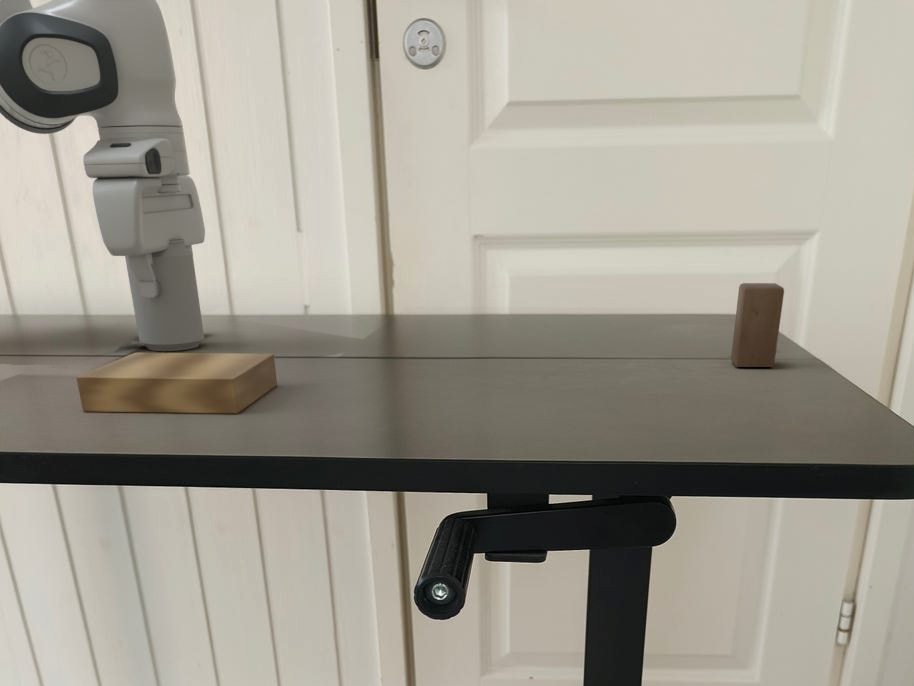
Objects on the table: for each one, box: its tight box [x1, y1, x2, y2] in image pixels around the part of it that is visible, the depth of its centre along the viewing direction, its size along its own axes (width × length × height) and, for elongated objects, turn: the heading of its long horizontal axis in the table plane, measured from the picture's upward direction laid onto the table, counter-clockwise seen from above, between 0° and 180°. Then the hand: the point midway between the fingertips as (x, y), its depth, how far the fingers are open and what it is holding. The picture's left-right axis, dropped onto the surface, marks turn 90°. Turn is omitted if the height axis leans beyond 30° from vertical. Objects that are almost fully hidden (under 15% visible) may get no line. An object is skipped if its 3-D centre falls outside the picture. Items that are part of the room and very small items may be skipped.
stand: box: [76, 352, 278, 415], centre depth 84 cm, size 14×12×3 cm
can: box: [124, 239, 205, 352], centre depth 107 cm, size 8×8×12 cm
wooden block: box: [730, 282, 785, 368], centre depth 95 cm, size 4×4×8 cm
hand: (168, 292), depth 107 cm, fingers open, 8 cm apart
